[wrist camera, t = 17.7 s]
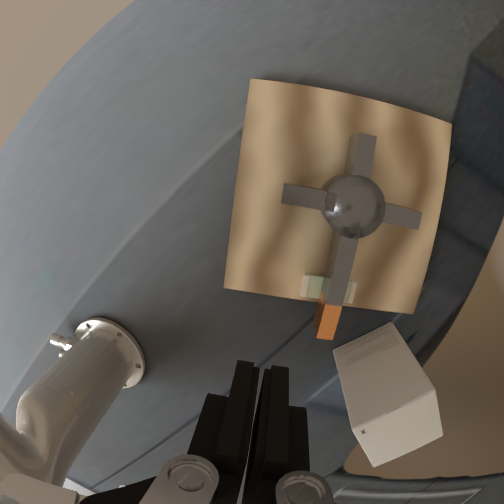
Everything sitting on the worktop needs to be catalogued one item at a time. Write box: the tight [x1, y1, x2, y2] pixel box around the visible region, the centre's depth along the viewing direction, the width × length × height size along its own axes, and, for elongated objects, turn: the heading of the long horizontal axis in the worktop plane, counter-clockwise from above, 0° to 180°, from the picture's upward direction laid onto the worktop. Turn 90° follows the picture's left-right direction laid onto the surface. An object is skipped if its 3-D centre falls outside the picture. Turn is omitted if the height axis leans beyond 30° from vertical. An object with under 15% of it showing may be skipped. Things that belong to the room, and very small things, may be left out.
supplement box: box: [333, 322, 443, 467], centre depth 32 cm, size 9×9×15 cm
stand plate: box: [224, 79, 452, 314], centre depth 33 cm, size 24×24×2 cm
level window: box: [300, 273, 357, 304], centre depth 35 cm, size 6×3×1 cm, turn 83°
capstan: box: [281, 132, 422, 340], centre depth 31 cm, size 21×14×5 cm, turn 172°
